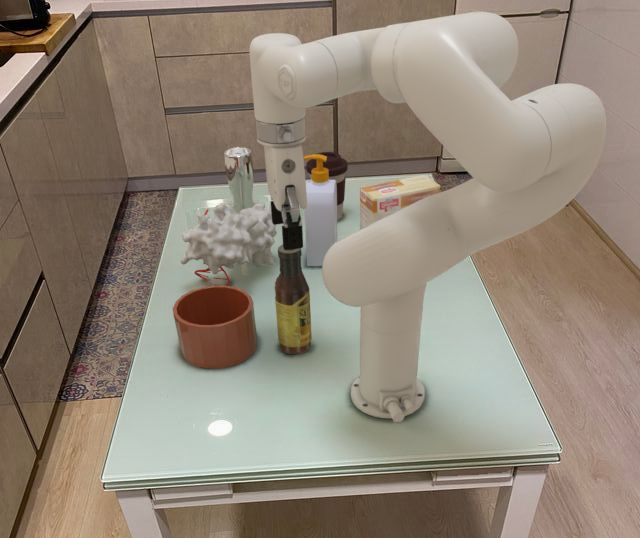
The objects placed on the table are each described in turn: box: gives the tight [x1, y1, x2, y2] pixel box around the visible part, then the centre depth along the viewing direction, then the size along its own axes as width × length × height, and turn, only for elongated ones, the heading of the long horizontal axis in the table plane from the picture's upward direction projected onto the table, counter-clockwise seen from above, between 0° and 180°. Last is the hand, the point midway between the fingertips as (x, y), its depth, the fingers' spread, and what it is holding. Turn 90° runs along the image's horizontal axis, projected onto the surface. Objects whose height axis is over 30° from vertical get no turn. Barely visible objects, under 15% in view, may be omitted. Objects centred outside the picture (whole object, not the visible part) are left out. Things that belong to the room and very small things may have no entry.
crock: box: [172, 284, 258, 370], centre depth 125 cm, size 14×14×9 cm
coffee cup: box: [305, 151, 349, 221], centre depth 165 cm, size 10×10×15 cm
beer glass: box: [223, 146, 256, 214], centre depth 169 cm, size 7×7×15 cm
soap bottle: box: [303, 153, 338, 267], centre depth 145 cm, size 9×7×23 cm
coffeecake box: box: [359, 174, 441, 230], centre depth 140 cm, size 15×7×20 cm, turn 111°
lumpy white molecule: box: [180, 202, 278, 286], centre depth 142 cm, size 20×18×25 cm
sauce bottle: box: [274, 244, 312, 355], centre depth 120 cm, size 6×6×20 cm
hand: (287, 235), depth 112 cm, fingers open, 9 cm apart
